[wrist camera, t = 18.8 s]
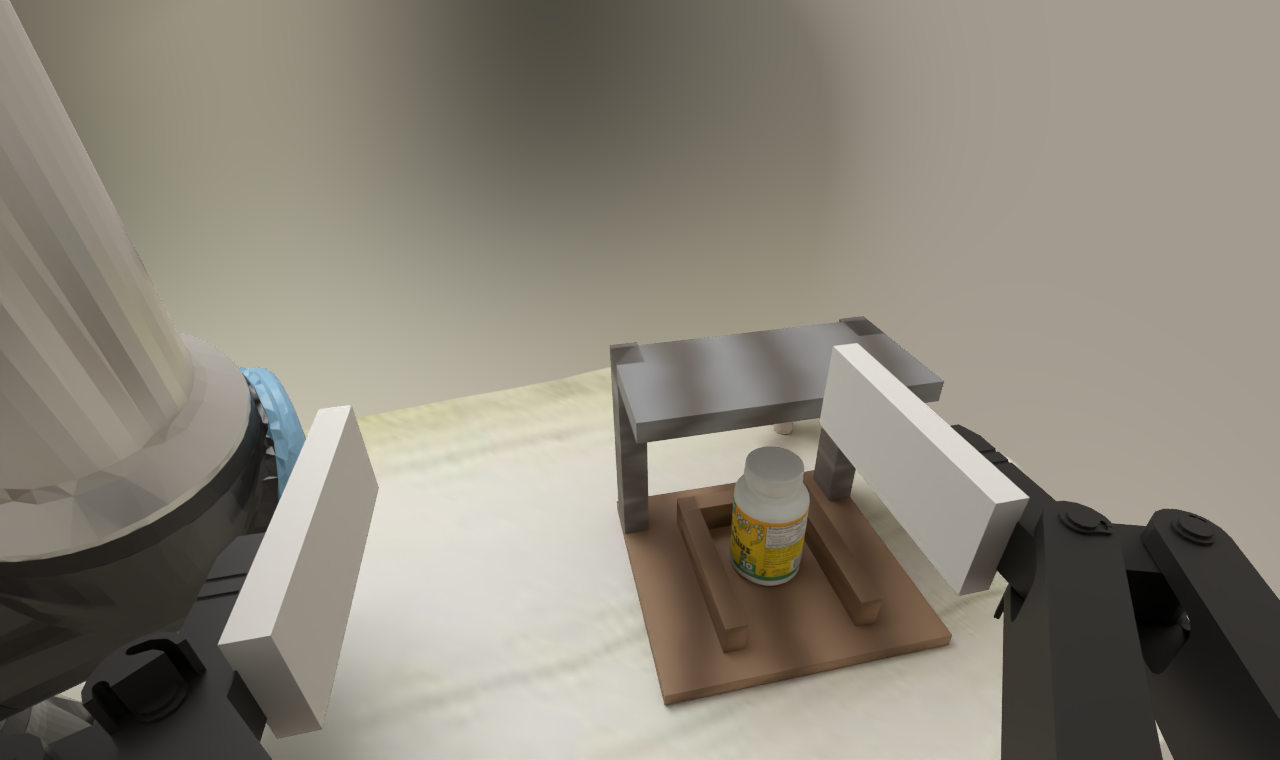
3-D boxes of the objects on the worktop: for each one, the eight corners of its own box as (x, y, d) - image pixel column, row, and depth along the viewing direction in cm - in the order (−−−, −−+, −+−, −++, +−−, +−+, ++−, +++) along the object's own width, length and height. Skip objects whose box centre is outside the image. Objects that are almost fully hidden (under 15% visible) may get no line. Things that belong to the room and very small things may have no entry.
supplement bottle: (810, 582, 44) (828, 484, 39) (741, 593, 44) (750, 494, 39) (783, 530, 49) (796, 436, 44) (720, 539, 48) (726, 445, 43)
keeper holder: (664, 705, 38) (663, 504, 29) (617, 509, 53) (607, 339, 44) (948, 644, 41) (1025, 447, 32) (827, 476, 56) (856, 311, 47)
